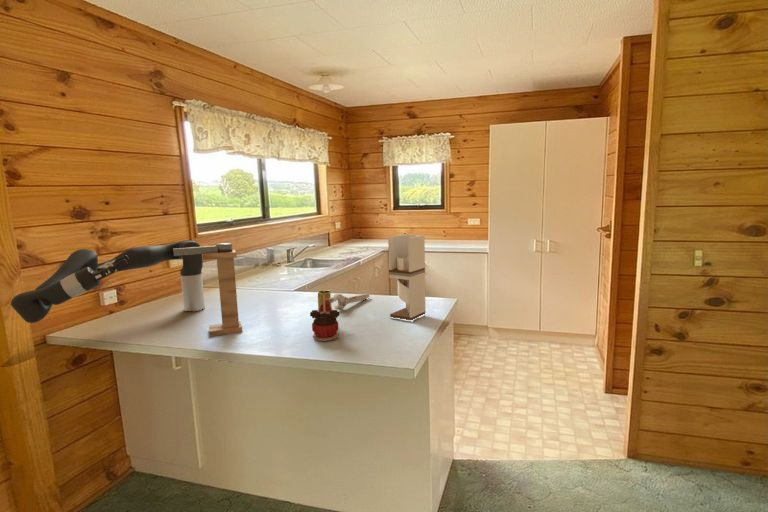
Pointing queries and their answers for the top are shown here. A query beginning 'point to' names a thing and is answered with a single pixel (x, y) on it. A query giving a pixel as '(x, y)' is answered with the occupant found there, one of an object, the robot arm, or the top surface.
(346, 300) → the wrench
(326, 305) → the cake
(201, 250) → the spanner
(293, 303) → the top surface
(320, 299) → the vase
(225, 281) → the shelf stand
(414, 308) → the beige cubby tower
